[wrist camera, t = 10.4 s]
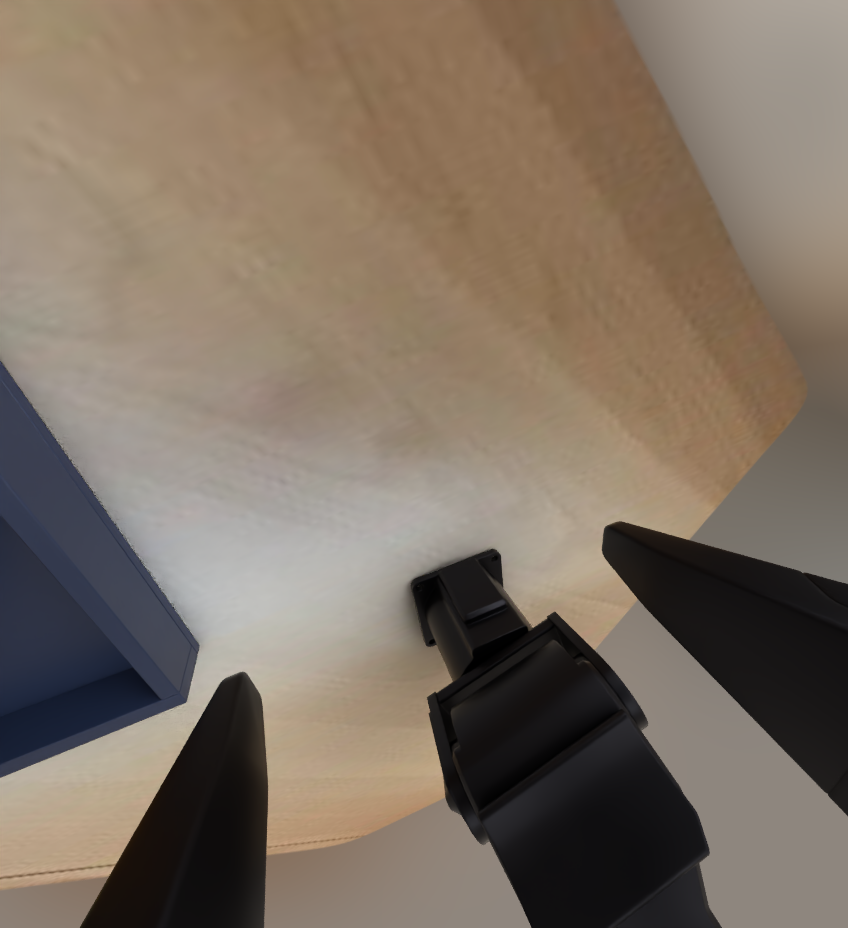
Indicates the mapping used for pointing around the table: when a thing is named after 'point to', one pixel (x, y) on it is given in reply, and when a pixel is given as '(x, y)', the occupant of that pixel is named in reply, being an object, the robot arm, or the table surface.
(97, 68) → the table surface
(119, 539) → the tray
